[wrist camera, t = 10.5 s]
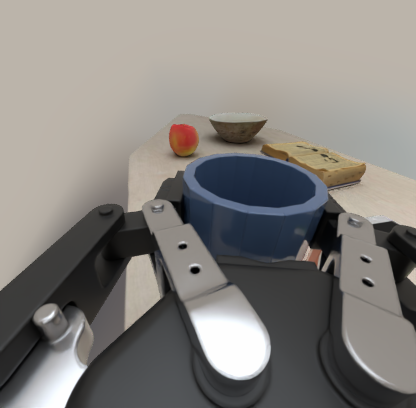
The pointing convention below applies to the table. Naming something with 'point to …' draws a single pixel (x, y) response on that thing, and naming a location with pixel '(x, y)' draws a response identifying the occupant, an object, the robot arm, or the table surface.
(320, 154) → the book
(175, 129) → the apple
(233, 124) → the bowl
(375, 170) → the table surface
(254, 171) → the blue cup
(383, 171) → the table surface
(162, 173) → the table surface
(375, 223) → the smartphone
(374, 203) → the table surface
